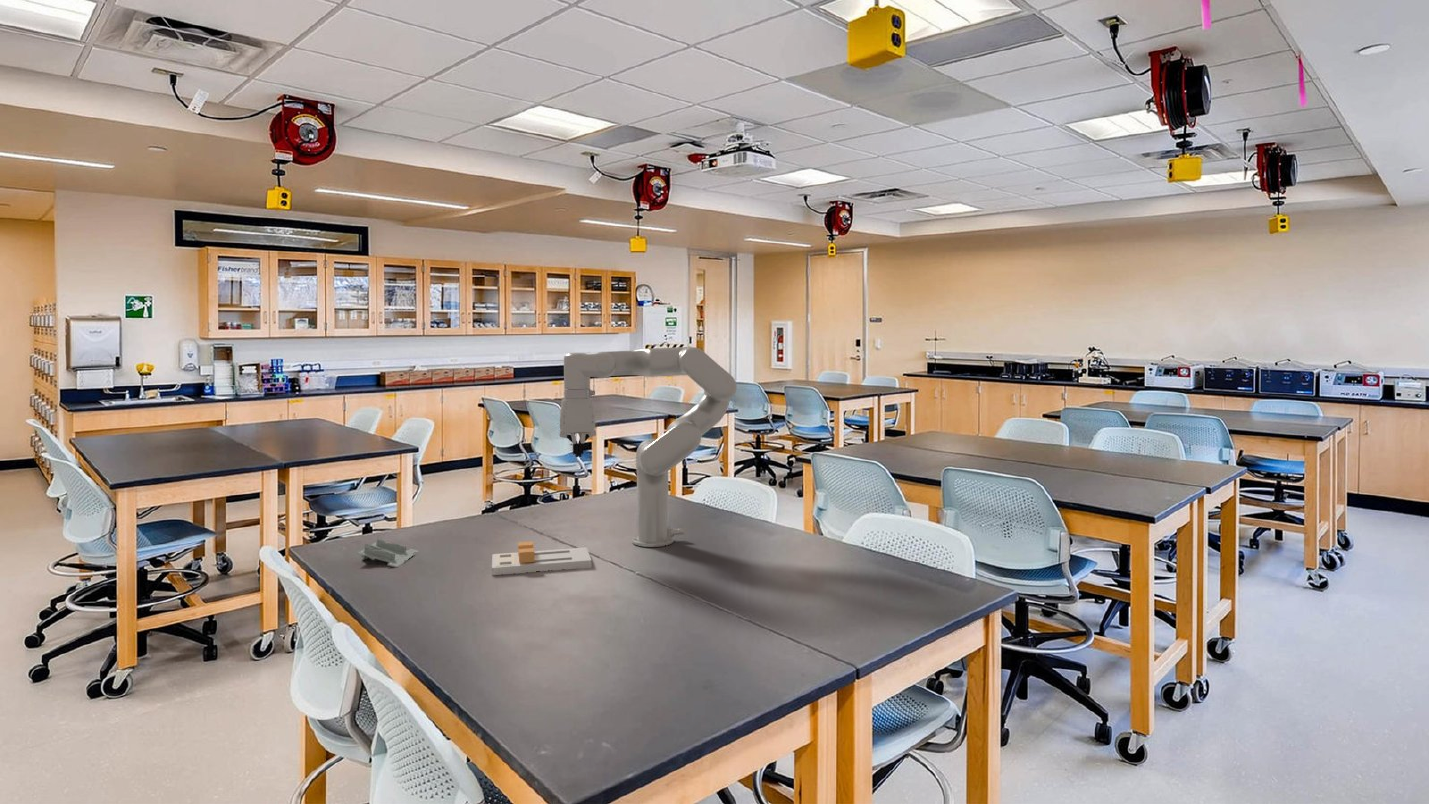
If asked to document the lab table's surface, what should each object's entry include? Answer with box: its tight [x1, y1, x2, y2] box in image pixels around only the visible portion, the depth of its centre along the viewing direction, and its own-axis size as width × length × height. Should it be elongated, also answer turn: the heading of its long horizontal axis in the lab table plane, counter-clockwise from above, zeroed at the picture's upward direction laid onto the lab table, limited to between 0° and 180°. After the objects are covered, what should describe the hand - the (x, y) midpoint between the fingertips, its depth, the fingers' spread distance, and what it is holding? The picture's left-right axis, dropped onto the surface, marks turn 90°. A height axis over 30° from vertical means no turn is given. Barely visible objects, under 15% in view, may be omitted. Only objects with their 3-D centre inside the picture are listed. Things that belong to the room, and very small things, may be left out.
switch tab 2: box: [519, 547, 535, 563], centre depth 205 cm, size 4×4×3 cm
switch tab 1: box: [517, 540, 534, 556], centre depth 212 cm, size 4×4×3 cm
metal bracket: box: [357, 538, 419, 569], centre depth 215 cm, size 14×6×15 cm
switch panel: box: [491, 547, 592, 576], centre depth 210 cm, size 26×13×2 cm, turn 106°
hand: (578, 456), depth 226 cm, fingers closed
